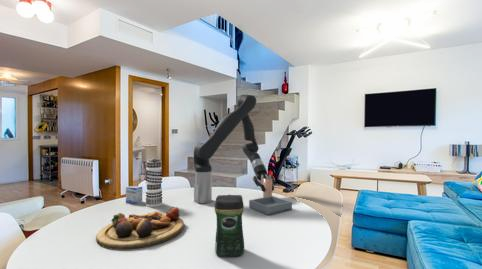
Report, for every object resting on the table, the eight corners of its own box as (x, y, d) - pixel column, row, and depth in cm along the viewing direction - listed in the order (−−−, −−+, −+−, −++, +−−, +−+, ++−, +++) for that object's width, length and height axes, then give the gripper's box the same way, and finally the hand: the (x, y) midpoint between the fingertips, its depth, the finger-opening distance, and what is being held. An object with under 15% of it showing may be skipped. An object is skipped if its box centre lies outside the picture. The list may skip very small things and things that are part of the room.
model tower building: (144, 203, 136) (144, 158, 136) (161, 201, 140) (161, 157, 140) (145, 207, 128) (145, 159, 128) (163, 205, 132) (163, 159, 132)
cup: (267, 200, 141) (267, 179, 141) (261, 198, 145) (261, 178, 145) (273, 199, 144) (273, 178, 144) (267, 197, 148) (268, 177, 148)
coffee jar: (243, 246, 84) (243, 192, 84) (244, 258, 76) (244, 198, 76) (215, 246, 84) (215, 192, 84) (213, 258, 76) (213, 198, 76)
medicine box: (125, 202, 137) (125, 187, 137) (131, 200, 142) (131, 185, 142) (137, 203, 135) (137, 188, 135) (142, 201, 139) (142, 186, 139)
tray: (268, 215, 115) (268, 207, 115) (249, 207, 128) (249, 200, 128) (291, 209, 124) (291, 201, 124) (272, 202, 137) (272, 195, 137)
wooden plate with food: (179, 214, 118) (179, 197, 118) (189, 241, 88) (189, 218, 88) (104, 224, 107) (103, 205, 107) (86, 258, 77) (86, 232, 77)
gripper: (250, 164, 148) (260, 188, 138) (270, 163, 154) (281, 186, 144) (246, 172, 153) (255, 195, 142) (266, 170, 159) (276, 193, 148)
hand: (268, 190), depth 143 cm, fingers closed on cup, 5 cm apart
